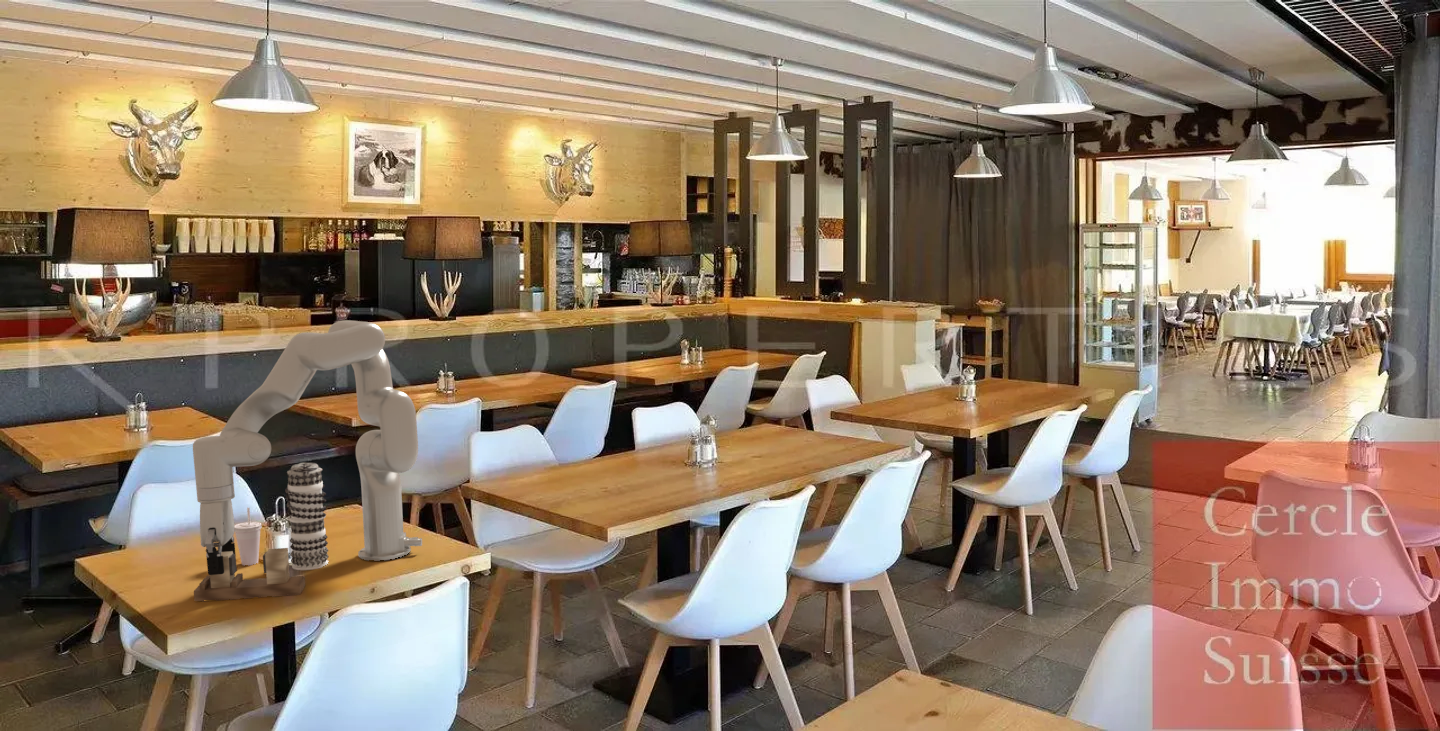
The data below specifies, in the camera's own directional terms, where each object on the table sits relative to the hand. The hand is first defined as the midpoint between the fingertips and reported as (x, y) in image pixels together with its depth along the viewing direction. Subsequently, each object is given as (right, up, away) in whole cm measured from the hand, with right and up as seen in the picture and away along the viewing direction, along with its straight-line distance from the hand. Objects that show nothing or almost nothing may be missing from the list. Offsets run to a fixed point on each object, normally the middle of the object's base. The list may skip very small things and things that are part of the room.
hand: (222, 567), depth 237 cm
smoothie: (-5, -4, +25) cm, 26 cm away
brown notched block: (+6, -6, +1) cm, 9 cm away
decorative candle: (+11, -4, +23) cm, 26 cm away
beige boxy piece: (0, -4, 0) cm, 4 cm away
